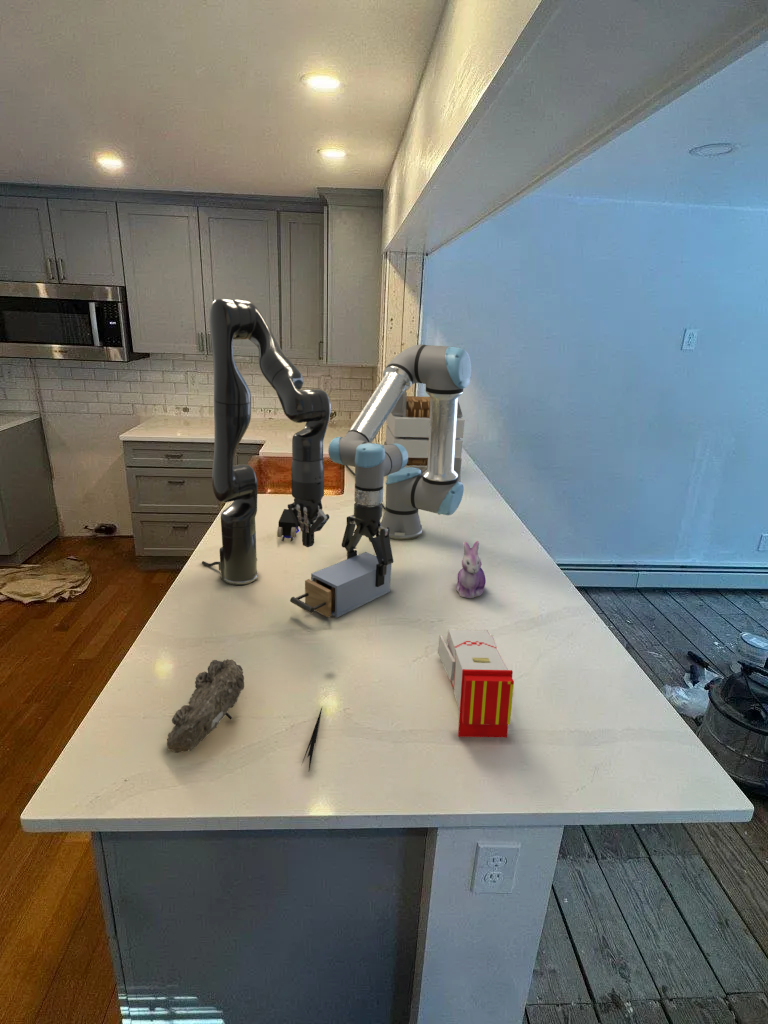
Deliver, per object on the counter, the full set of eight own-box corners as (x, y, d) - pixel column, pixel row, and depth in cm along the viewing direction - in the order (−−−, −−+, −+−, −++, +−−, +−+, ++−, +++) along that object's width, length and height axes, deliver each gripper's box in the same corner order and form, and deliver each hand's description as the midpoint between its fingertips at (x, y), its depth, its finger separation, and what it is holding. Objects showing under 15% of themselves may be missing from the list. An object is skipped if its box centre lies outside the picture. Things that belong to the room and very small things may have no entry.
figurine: (467, 602, 155) (472, 552, 149) (446, 586, 163) (450, 538, 158) (494, 596, 159) (500, 546, 154) (473, 580, 167) (478, 533, 162)
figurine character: (296, 548, 187) (302, 526, 201) (296, 527, 184) (301, 507, 198) (276, 547, 187) (283, 526, 201) (275, 527, 184) (282, 507, 197)
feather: (331, 679, 122) (336, 673, 122) (307, 777, 96) (313, 769, 95) (324, 675, 122) (329, 669, 121) (298, 772, 95) (304, 764, 95)
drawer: (311, 625, 139) (311, 599, 136) (288, 612, 144) (288, 587, 142) (379, 592, 156) (380, 568, 154) (357, 581, 162) (357, 559, 159)
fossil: (192, 660, 117) (244, 628, 112) (224, 691, 120) (276, 661, 115) (142, 746, 98) (202, 712, 93) (182, 779, 101) (242, 748, 96)
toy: (488, 613, 130) (523, 677, 101) (484, 667, 133) (517, 744, 104) (435, 612, 130) (455, 676, 101) (432, 666, 133) (451, 743, 103)
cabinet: (336, 617, 144) (337, 586, 141) (311, 603, 151) (311, 573, 148) (390, 591, 159) (391, 562, 156) (364, 579, 165) (365, 551, 162)
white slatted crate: (382, 463, 289) (386, 382, 275) (445, 464, 293) (451, 384, 279) (390, 482, 257) (394, 392, 243) (460, 483, 261) (468, 394, 247)
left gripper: (277, 473, 133) (278, 541, 139) (314, 486, 124) (314, 558, 130) (301, 468, 138) (302, 534, 144) (339, 480, 130) (338, 549, 136)
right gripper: (328, 495, 154) (328, 569, 162) (390, 517, 140) (386, 597, 148) (348, 490, 159) (347, 562, 167) (410, 510, 145) (405, 588, 153)
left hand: (308, 545), depth 137 cm, fingers closed
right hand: (365, 578), depth 157 cm, fingers closed on cabinet, 10 cm apart
